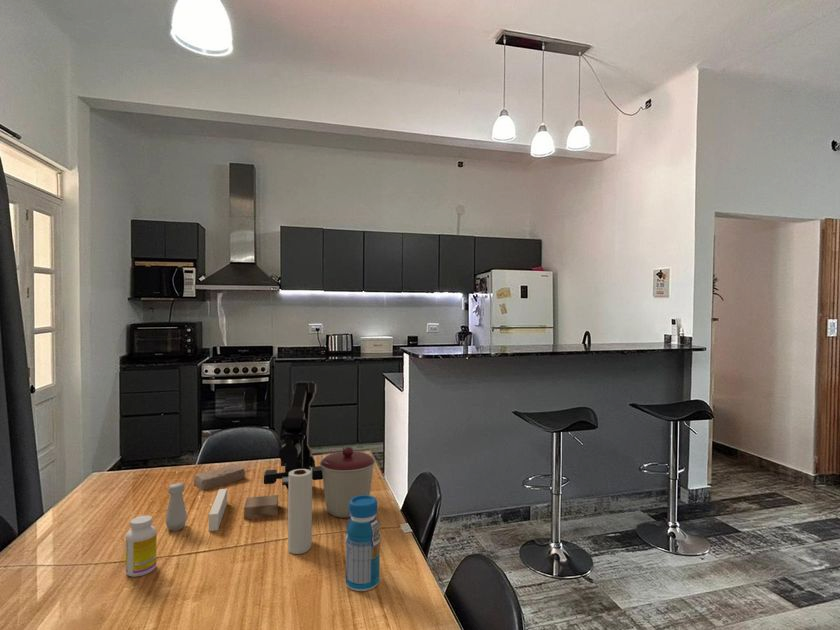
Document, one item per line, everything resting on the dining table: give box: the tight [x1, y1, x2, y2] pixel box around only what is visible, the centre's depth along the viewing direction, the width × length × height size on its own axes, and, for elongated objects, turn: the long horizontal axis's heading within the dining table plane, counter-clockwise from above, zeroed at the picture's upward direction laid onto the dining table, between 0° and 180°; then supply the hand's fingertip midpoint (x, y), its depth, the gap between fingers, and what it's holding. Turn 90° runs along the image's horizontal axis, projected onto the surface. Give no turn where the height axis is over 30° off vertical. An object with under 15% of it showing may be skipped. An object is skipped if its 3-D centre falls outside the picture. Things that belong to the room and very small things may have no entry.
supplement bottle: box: [125, 515, 157, 578], centre depth 116 cm, size 7×7×13 cm
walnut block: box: [243, 494, 279, 520], centre depth 150 cm, size 10×8×4 cm
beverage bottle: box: [344, 495, 382, 592], centre depth 112 cm, size 8×8×20 cm
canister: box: [319, 446, 377, 519], centre depth 152 cm, size 18×18×21 cm
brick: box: [193, 463, 246, 491], centre depth 177 cm, size 16×8×5 cm, turn 137°
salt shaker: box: [164, 482, 188, 532], centre depth 139 cm, size 6×6×13 cm
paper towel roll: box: [287, 468, 313, 555], centre depth 128 cm, size 7×6×21 cm
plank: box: [208, 488, 228, 532], centre depth 147 cm, size 2×20×5 cm, turn 16°
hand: (293, 500), depth 153 cm, fingers closed
